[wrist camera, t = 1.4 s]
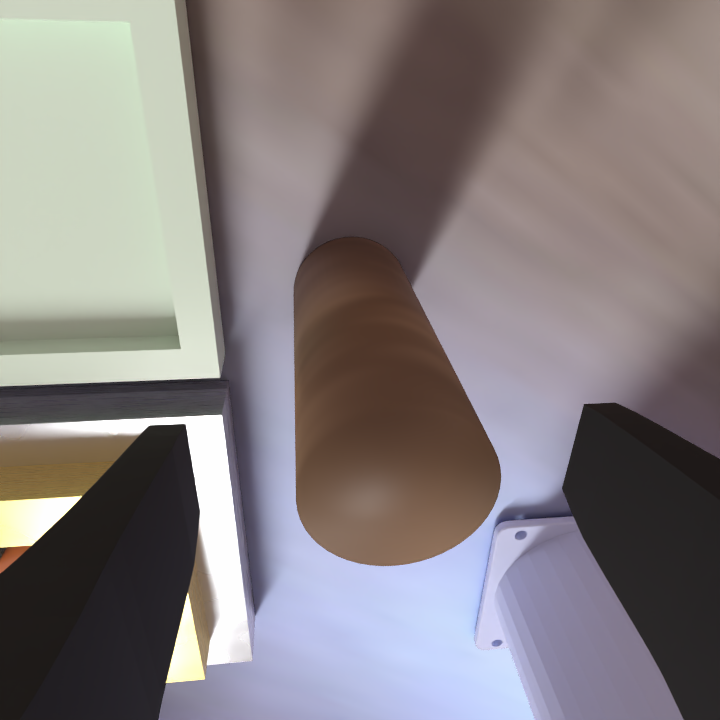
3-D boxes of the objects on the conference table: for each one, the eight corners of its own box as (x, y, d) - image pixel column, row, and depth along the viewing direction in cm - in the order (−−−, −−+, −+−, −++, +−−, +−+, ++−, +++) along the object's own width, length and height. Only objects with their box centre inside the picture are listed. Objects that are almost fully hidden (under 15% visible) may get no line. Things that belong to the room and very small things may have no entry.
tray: (182, -25, 13) (170, -33, 12) (225, 353, 18) (220, 377, 16) (-298, -42, 12) (-372, -53, 11) (-113, 365, 17) (-147, 392, 15)
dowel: (409, 236, 17) (515, 402, 9) (402, 340, 18) (486, 558, 10) (291, 237, 16) (291, 413, 8) (295, 344, 18) (299, 572, 10)
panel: (228, 380, 18) (215, 446, 15) (255, 616, 24) (250, 698, 21) (-171, 396, 17) (-272, 471, 14) (-40, 641, 23) (-92, 732, 20)
